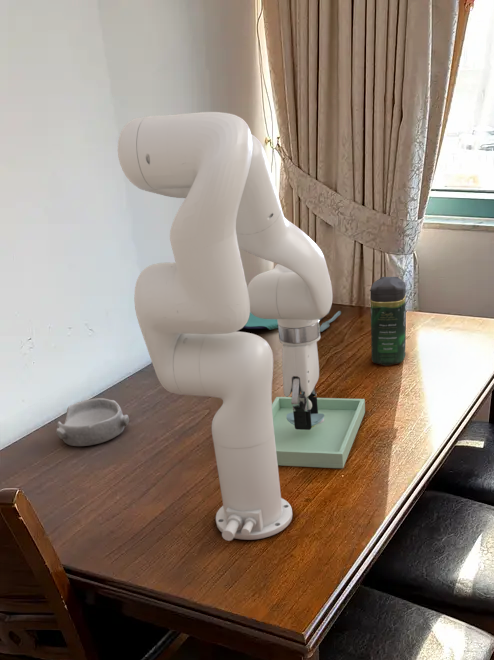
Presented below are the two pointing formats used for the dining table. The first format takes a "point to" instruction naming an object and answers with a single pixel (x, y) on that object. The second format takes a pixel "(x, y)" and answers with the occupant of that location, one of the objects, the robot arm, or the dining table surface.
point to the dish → (92, 422)
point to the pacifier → (314, 417)
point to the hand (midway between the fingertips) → (306, 421)
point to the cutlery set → (273, 323)
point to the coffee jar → (388, 320)
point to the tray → (317, 433)
